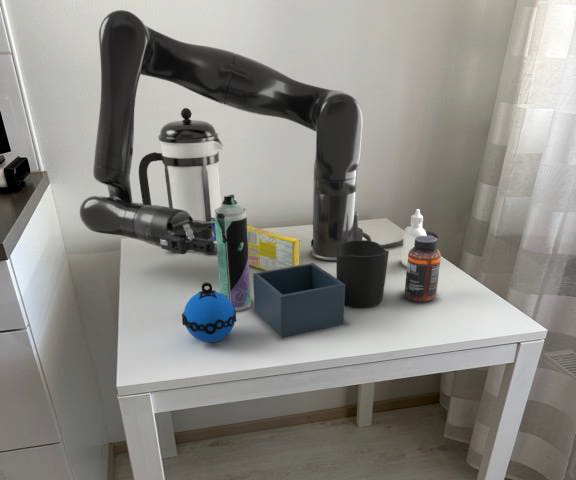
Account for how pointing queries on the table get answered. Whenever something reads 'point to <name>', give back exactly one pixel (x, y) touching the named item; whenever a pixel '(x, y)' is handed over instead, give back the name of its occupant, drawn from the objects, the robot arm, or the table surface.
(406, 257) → the eye dropper bottle
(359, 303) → the pen holder
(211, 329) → the ornament
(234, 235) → the spray can
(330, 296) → the bin
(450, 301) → the table surface
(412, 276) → the supplement bottle
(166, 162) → the coffee press
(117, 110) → the robot arm
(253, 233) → the candy box
